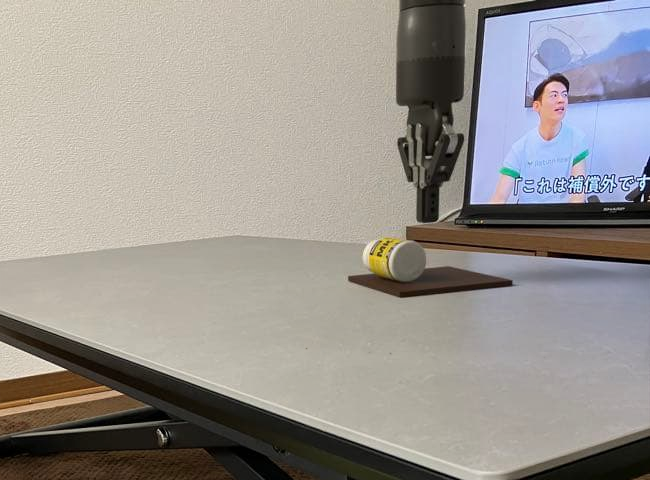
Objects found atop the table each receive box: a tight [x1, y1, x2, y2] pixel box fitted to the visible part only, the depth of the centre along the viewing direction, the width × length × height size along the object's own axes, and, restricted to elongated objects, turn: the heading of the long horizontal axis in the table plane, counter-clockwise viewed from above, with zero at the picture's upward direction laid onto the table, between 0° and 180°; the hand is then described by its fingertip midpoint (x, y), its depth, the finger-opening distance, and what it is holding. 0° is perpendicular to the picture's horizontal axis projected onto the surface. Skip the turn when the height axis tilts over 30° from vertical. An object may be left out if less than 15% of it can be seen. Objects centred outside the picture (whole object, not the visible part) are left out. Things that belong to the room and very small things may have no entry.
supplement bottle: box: [362, 237, 427, 283], centre depth 109 cm, size 5×5×8 cm
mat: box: [347, 265, 513, 298], centre depth 109 cm, size 14×16×1 cm
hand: (427, 222), depth 106 cm, fingers closed
